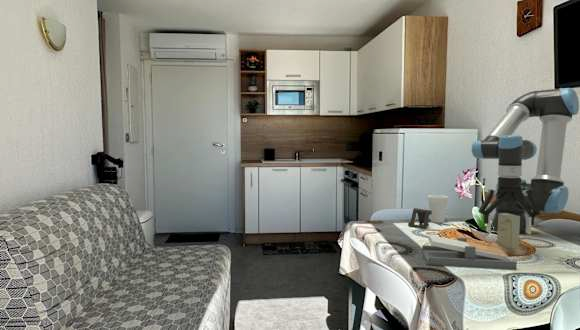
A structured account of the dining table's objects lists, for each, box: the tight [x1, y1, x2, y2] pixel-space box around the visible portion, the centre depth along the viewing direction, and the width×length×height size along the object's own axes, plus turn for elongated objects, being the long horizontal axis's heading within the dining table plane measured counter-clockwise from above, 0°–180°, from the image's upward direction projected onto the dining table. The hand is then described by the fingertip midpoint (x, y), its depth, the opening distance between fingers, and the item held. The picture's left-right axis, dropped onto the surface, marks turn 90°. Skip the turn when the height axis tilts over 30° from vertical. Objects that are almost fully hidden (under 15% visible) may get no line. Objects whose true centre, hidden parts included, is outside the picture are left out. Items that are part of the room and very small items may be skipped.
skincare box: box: [496, 213, 520, 249], centre depth 139 cm, size 6×4×12 cm
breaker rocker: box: [427, 234, 509, 261], centre depth 129 cm, size 24×9×2 cm, turn 78°
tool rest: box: [489, 241, 528, 256], centre depth 139 cm, size 12×12×2 cm
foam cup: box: [427, 194, 449, 224], centre depth 190 cm, size 10×9×13 cm
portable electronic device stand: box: [407, 207, 432, 230], centre depth 179 cm, size 9×8×8 cm
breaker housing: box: [421, 236, 517, 270], centre depth 130 cm, size 27×15×6 cm, turn 78°
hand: (508, 232), depth 139 cm, fingers open, 13 cm apart
